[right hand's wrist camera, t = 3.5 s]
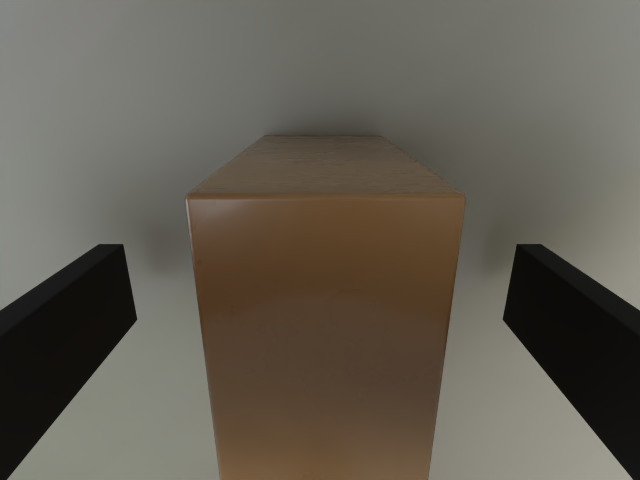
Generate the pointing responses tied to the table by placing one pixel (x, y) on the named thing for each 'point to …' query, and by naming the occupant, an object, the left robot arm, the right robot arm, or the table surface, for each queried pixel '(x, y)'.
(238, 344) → the beam
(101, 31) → the table surface
